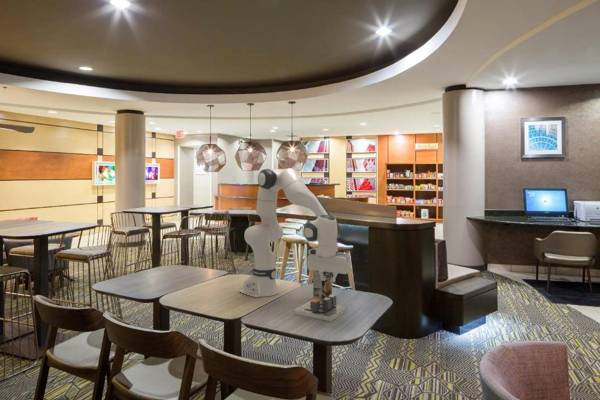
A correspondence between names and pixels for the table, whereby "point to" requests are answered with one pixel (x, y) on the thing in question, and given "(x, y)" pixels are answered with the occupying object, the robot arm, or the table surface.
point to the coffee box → (322, 285)
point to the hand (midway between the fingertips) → (328, 281)
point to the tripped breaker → (315, 305)
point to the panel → (321, 312)
